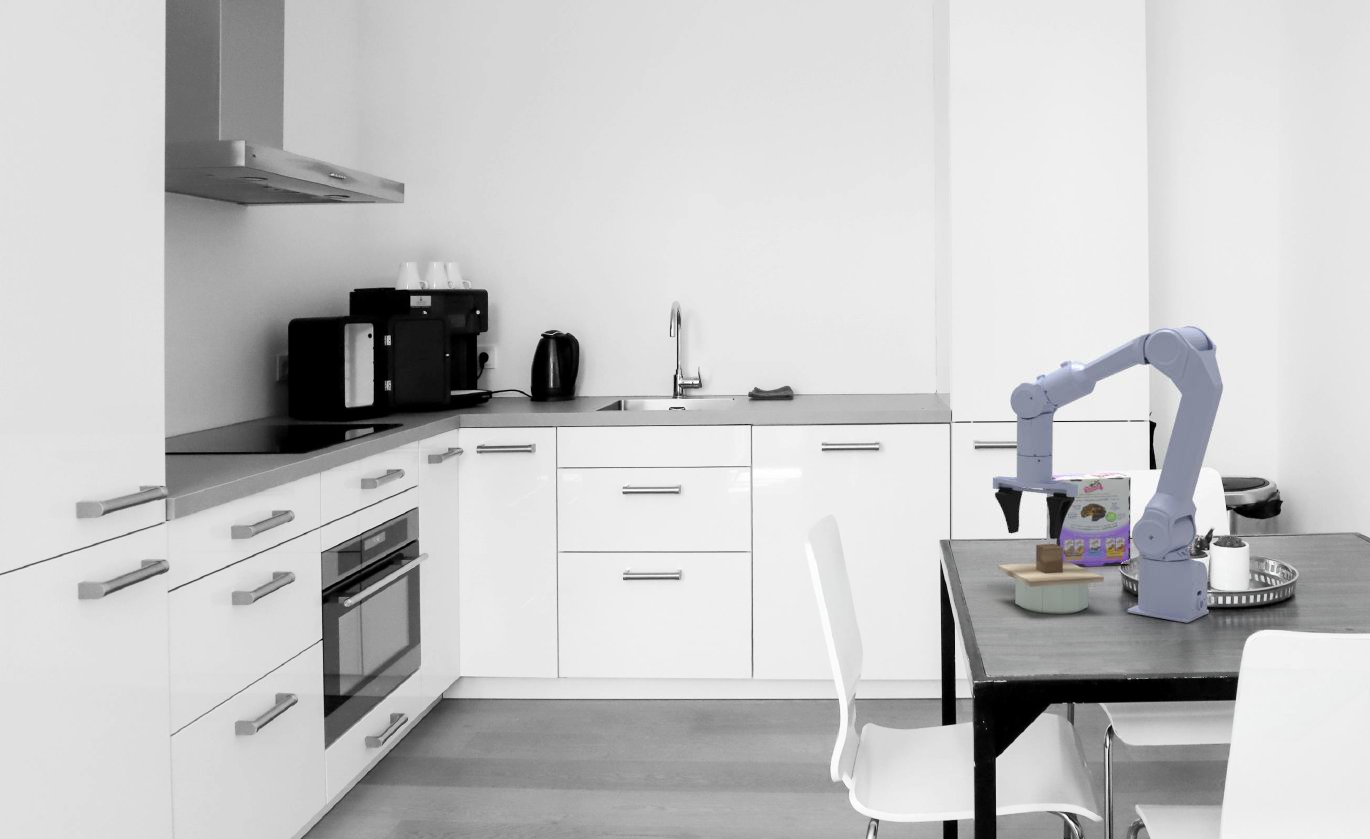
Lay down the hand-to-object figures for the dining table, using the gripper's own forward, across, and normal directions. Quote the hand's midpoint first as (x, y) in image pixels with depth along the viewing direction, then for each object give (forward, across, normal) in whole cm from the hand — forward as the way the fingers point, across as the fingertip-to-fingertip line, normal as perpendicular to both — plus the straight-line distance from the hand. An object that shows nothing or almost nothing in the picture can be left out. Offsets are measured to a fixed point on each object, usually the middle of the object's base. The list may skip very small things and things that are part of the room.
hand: (1033, 535), depth 196 cm
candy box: (+10, +3, -25) cm, 27 cm away
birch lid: (+4, -7, +8) cm, 11 cm away
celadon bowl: (+10, -7, +7) cm, 14 cm away
